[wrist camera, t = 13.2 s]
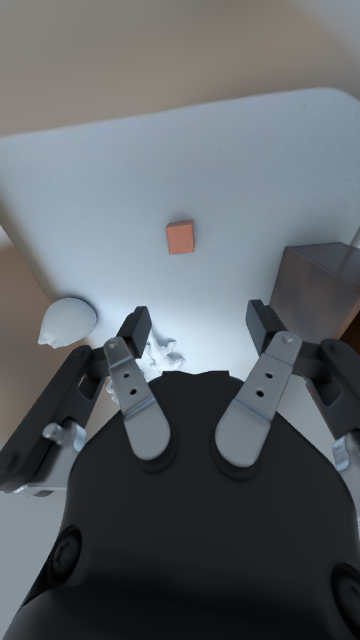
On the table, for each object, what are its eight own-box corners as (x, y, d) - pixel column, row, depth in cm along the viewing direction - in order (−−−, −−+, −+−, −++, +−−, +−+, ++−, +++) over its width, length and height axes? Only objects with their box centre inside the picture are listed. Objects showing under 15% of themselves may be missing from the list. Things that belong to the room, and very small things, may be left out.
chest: (284, 247, 28) (361, 294, 15) (340, 241, 27) (476, 289, 14) (266, 313, 37) (304, 380, 24) (307, 312, 36) (370, 381, 23)
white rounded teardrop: (62, 319, 44) (26, 353, 34) (56, 287, 37) (9, 318, 28) (100, 330, 45) (75, 366, 36) (101, 301, 39) (70, 335, 29)
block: (169, 223, 27) (165, 227, 24) (192, 220, 27) (192, 223, 24) (172, 247, 30) (169, 254, 27) (194, 245, 29) (193, 252, 26)
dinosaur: (165, 309, 39) (158, 336, 31) (189, 369, 53) (188, 397, 46) (126, 317, 41) (111, 343, 34) (159, 372, 56) (154, 399, 49)
